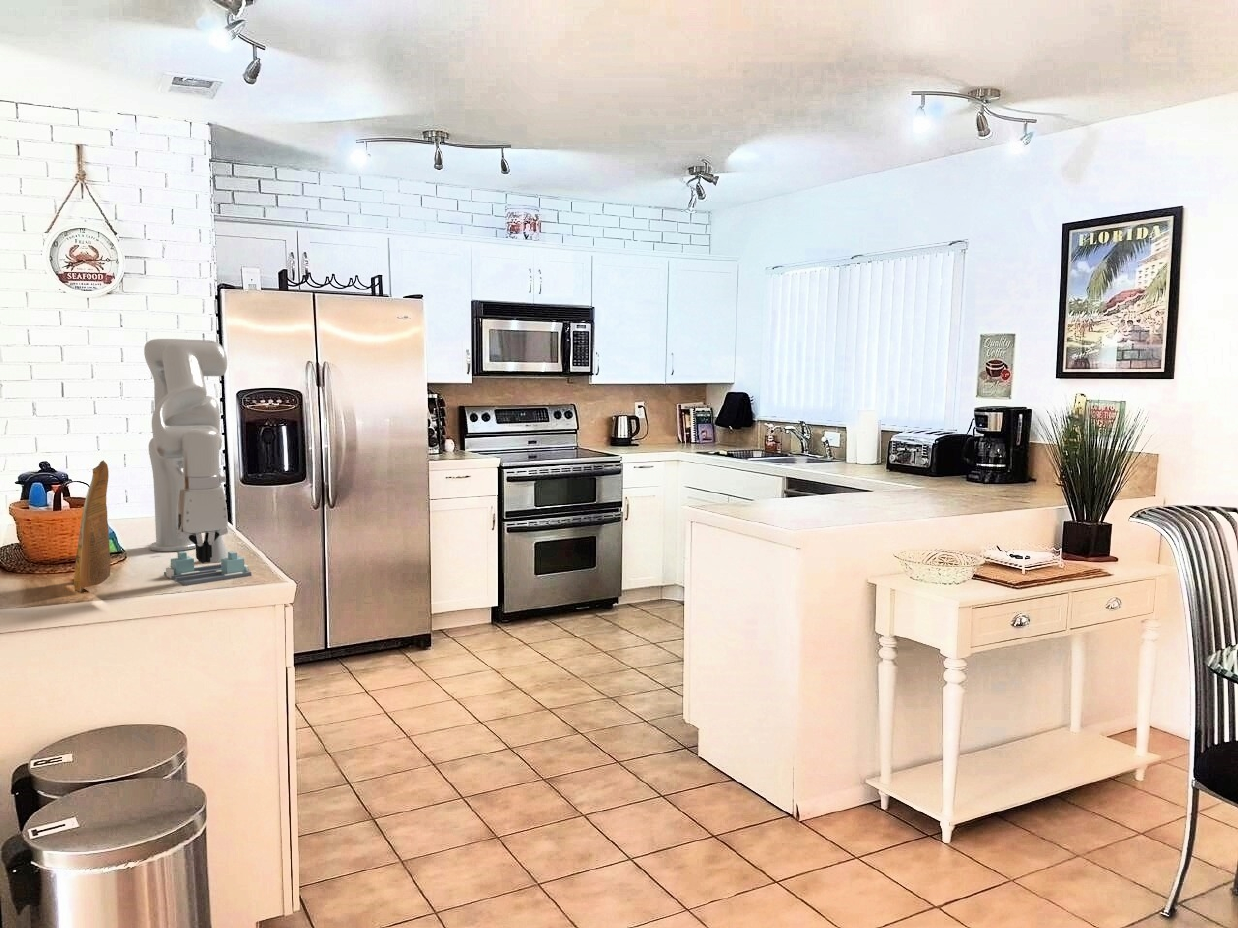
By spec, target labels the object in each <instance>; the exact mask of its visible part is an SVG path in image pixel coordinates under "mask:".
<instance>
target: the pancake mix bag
mask: <svg viewBox="0 0 1238 928" xmlns="http://www.w3.org/2000/svg"><path fill="white" fill-rule="evenodd" d="M108 484H109V466H108V464H107V463H106V461H104V460H101V461H100V462H99V464H98V465H97V466H95V467H94V468H92V476H91V481H90V484H89V487H88V491H87V492H86V495H85V496H86V497H85V499H84V500H85V501H84V503H83V509H82V515H81V519H80V527H79V534H78V544H77V550H76V557H75V568H74V575H73V586H74V592H75V591H79V592H78V593H80V594H83V593H84V592H87V593H90V591H89V590H87V589H86V588H88V587H89V588H90V587H93V586H96V585H97V586H98V585H100V584H102V583H103V582H104V581H106V580H107V579H108V578H109V577H110V575H111V555H110V554H111V553H110V550H111V549H110V532H109V530H110V529H109V523H108V506H107V492H108Z"/></svg>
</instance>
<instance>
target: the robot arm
mask: <svg viewBox="0 0 1238 928" xmlns="http://www.w3.org/2000/svg"><path fill="white" fill-rule="evenodd" d="M143 350H144V351H143V353H144V354H143V355H144V357H145V358H144V359H145V362H146V365H147V367H148V368H149V371H150V373H151V375H152V378H153V383H154V391H153V392H154V397H153V398H154V402H153V403H154V410H153V413H152V416H151V430H152V437H151V439H150V441H149V443H148V454H149V459H150V460H149V461H150V465H151V472H152V477H153V478H152V479H153V497H154V499H153V500H154V501H153V502H154V522H155V542H152V543H150V544H149V549H150V550H152V551H155V552H181V551H186V550H187V551H188V550H192V549H195V558H196V559H197V561H198V562H200V563H202V564H205V563H206V562H210V558H211V557H212V545H213V543H214V541H215V540H216V539H217V538H218V537H219V536H222V537H223V536H224V535H227V534H228V532H229V530H228V524H229V520H228V509H227V508H228V507H227V502H226V496H225V492H224V488H223V487H221V485H222V483H226V481H227V478H226V476H222V475H221V474H220V450H221V449H222V446H223V445H222V444H223V443H222V442H223V439H222V434H221V432H220V429H221V428H220V427H221V425H220V424H221V422H220V421H221V418H220V417H221V416H220V414H221V413H220V407H219V404H218V401H217V399H215V398H214V397H212V396H210V395H208V393H207V386H206V383H205V382H206V381H205V377H222V376H224V375H225V374H226V372H227V369H228V358H227V354H226V351H225V349H224V347H223V346H222V345H221V343H219V342H217V341H214V340H208V339H207V340H205V339H184V338H183V339H182V338H181V339H180V338H154V339H150V340H148V341H147V342H146V343H145V344H144V347H143ZM203 533H204V538H203V536H202V534H203Z"/></svg>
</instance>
